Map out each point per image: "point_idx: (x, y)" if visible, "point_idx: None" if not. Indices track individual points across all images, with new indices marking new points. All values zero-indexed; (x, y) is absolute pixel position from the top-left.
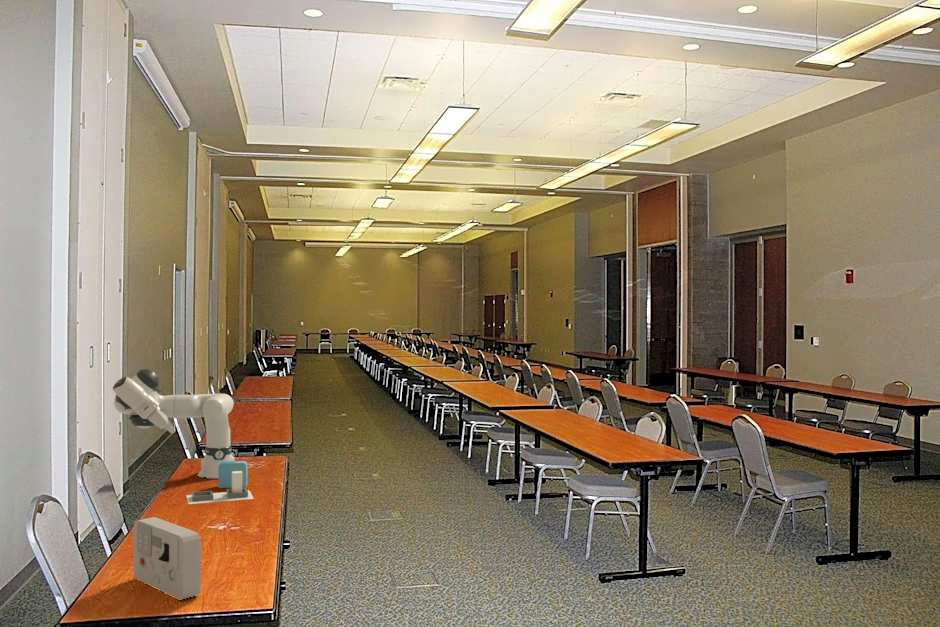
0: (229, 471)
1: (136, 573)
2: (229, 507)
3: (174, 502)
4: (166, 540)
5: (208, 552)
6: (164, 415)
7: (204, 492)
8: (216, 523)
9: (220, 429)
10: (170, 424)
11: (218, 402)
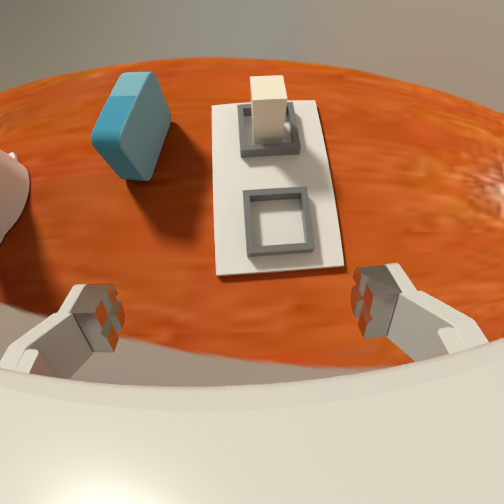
0: (142, 125)
1: None
2: (370, 159)
3: (274, 311)
4: None
5: None
6: (22, 451)
7: (250, 213)
8: (490, 200)
9: None
10: (66, 328)
11: None
